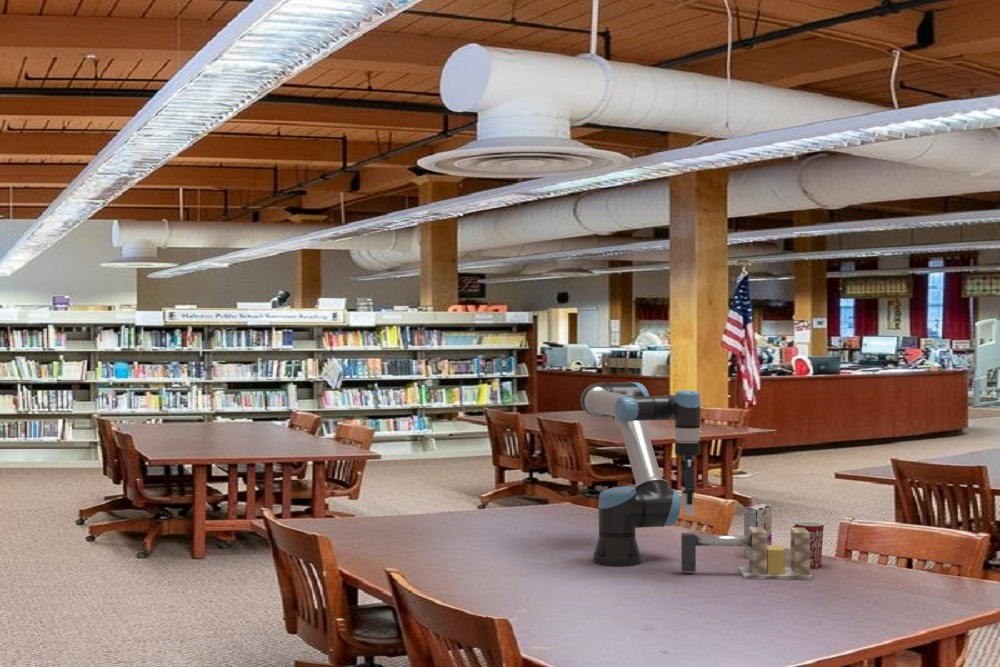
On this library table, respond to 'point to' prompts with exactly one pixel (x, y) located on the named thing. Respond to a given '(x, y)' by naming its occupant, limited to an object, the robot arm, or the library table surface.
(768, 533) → the candy bar box
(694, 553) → the shaft
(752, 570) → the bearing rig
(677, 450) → the robot arm
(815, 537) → the mug
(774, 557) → the spacer
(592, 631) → the library table surface
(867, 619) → the library table surface
